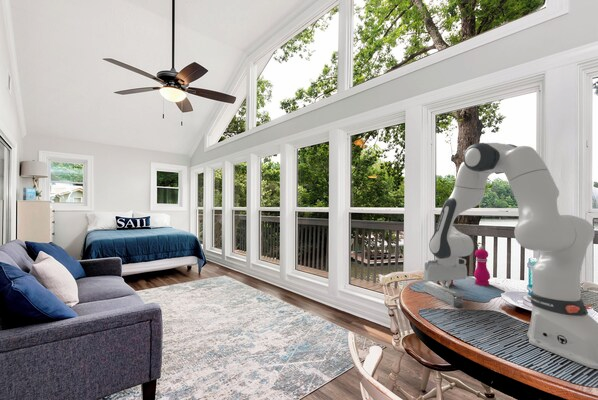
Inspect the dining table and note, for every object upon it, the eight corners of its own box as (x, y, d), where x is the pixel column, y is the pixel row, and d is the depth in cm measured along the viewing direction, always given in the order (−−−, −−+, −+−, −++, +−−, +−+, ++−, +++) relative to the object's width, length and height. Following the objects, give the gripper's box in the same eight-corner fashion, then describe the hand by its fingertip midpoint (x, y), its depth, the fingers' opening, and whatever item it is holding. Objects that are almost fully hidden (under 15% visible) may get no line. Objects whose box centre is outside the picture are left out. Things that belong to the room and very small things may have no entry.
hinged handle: (467, 306, 117) (467, 295, 117) (459, 307, 116) (458, 296, 116) (430, 289, 141) (430, 280, 141) (423, 290, 140) (422, 280, 140)
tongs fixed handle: (464, 307, 117) (464, 298, 117) (457, 308, 116) (457, 298, 116) (428, 290, 140) (428, 282, 140) (422, 290, 139) (422, 282, 139)
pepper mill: (477, 285, 147) (477, 247, 147) (471, 282, 154) (471, 245, 154) (493, 286, 146) (492, 247, 146) (486, 282, 153) (485, 245, 153)
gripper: (429, 262, 127) (429, 293, 127) (469, 260, 131) (469, 290, 131) (420, 259, 133) (420, 288, 133) (459, 257, 137) (459, 286, 137)
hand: (445, 289), depth 132 cm, fingers closed
